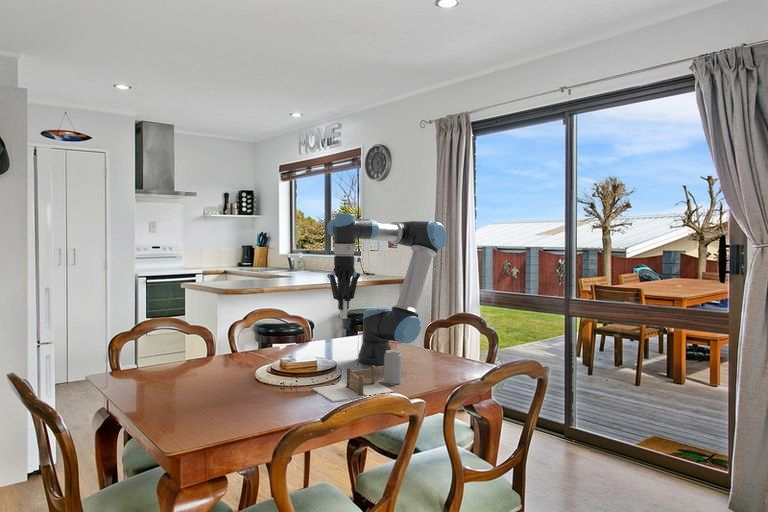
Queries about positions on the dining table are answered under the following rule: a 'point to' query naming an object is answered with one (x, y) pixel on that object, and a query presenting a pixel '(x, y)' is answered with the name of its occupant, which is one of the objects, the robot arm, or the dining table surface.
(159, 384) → the dining table surface
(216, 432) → the dining table surface
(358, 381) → the fence panel
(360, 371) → the fence fixed
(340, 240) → the robot arm
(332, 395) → the card
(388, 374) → the beverage can
